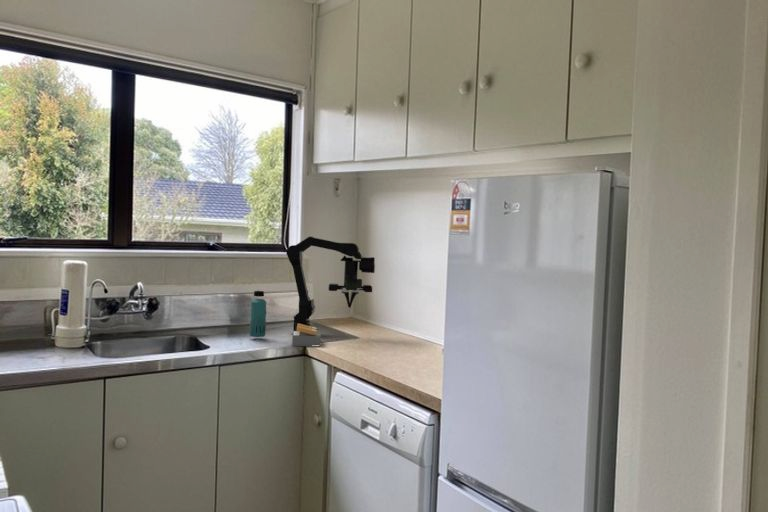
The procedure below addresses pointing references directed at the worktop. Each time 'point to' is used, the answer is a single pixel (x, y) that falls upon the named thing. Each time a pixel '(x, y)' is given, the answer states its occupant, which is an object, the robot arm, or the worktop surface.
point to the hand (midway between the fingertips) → (349, 307)
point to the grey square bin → (305, 339)
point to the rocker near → (306, 330)
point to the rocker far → (306, 326)
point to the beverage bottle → (258, 316)
